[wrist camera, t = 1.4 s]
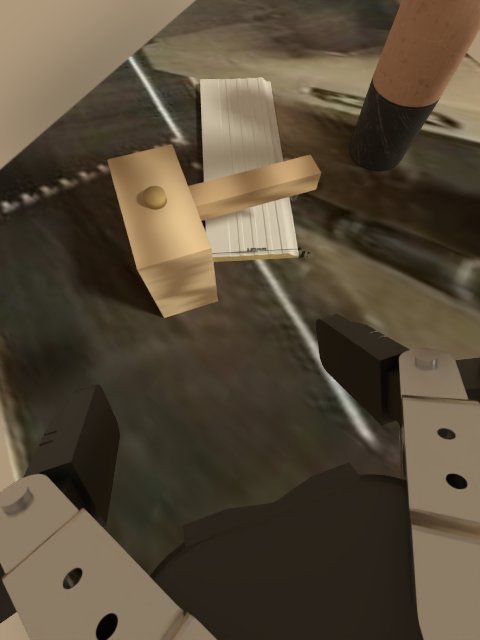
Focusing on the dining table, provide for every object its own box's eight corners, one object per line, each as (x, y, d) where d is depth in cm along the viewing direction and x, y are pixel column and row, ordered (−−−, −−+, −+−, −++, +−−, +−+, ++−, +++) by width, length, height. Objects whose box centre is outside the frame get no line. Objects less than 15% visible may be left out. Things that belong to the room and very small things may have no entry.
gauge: (278, 192, 40) (292, 107, 30) (317, 269, 36) (350, 202, 26) (138, 230, 38) (103, 152, 28) (164, 318, 34) (134, 263, 24)
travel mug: (378, 182, 41) (498, -38, 22) (335, 148, 43) (411, -77, 24) (415, 154, 43) (553, -70, 24) (372, 123, 45) (468, -104, 26)
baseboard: (279, 87, 49) (201, 90, 48) (281, 66, 46) (198, 69, 45) (310, 259, 37) (207, 265, 37) (316, 245, 34) (205, 251, 34)
